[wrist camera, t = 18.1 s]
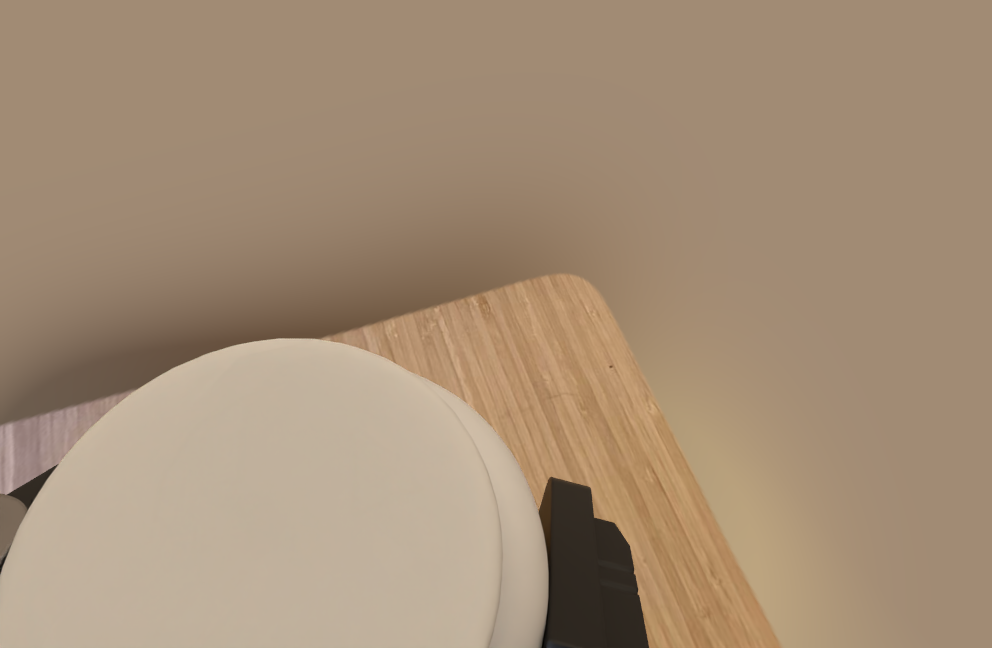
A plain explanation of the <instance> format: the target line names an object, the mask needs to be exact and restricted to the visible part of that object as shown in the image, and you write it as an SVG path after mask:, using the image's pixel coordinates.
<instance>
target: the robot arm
mask: <svg viewBox="0 0 992 648" xmlns="http://www.w3.org/2000/svg"><path fill="white" fill-rule="evenodd" d="M58 465H59V464H58ZM58 465H56V466H54V467H53V468H51V469H49V470H48V471H46V472H44V473H43V474H41V475H39V476H38V477H36V478H34V479H33V480H31V481H29V482H28V483H26V484H24V485H22V486H21V487H19V488H17V489H16V490H14V491H12V492H11V493H9V494H7V495H5V494H0V574H1V571H2V567H3V565H4V562H5V560H6V557H7V555H8V552H9V550H10V547H11V545H12V542H13V540H14V537H15V535H16V532H17V530H18V528H19V526H20V524H21V523H22V521H23V519H24V517H25V515H26V513H27V511H28V509H29V508H30V506H31V504H32V503H33V501H34V500H35V498H36V496H37V495H38V493H39V492H40V490H41V488H42V487H43V485H44V484H45V482H46V481H47V479H48V478H49V476H50V475H51V474H52V472H53V471H54V470H55V468H56V467H57V466H58ZM539 516H540V520H541V524H542V528H543V532H544V538H545V544H546V550H547V559H548V572H549V581H548V609H547V618H546V627H545V632H544V638H543V643H542V648H649V645H648V640H647V634H646V629H645V624H644V618H643V613H642V608H641V602H640V597H639V595H638V587H637V581H636V576H635V574H634V565H633V560H632V555H631V549H630V545H629V544H628V543H627V541H626V540H625V538H624V537H623V535H622V534H621V532H620V531H619V529H618V528H617V526H616V525H615V523H613V522H609V521H605V520H601V519H597V518H594V514H593V504H592V494H591V488H590V487H588V486H584V485H580V484H576V483H572V482H568V481H564V480H561V479H557V478H553V477H550V478H549V480H548V483H547V485H546V489H545V492H544V495H543V499H542V502H541V506H540V509H539Z"/></svg>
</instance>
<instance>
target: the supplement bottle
mask: <svg viewBox="0 0 992 648" xmlns="http://www.w3.org/2000/svg"><path fill="white" fill-rule="evenodd" d="M548 581H549V572H548V559H547V550H546V544H545V538H544V532H543V528H542V524H541V520H540V516H539V513H538V509H537V506H536V503H535V500H534V497H533V495H532V492H531V490H530V487H529V485H528V482H527V480H526V478H525V476H524V474H523V472H522V470H521V468H520V466H519V464H518V462H517V461H516V459H515V457H514V456H513V454H512V452H511V451H510V449H509V448H508V447H507V446H506V444H505V443H504V442H503V440H502V439H501V438H500V436H499V435H498V434H497V433H496V431H495V430H494V429H493V428H492V427H491V426H490V425H489V424H488V423H487V422H486V420H485V419H484V418H483V417H482V416H481V415H480V414H478V413H477V412H476V411H475V410H474V409H473V408H472V407H470V406H469V405H468V404H467V403H466V402H464V401H463V400H462V399H460V398H459V397H458V396H456V395H454V394H453V393H451V392H450V391H448V390H446V389H445V388H443V387H441V386H440V385H438V384H436V383H434V382H432V381H430V380H428V379H426V378H424V377H421V376H419V375H417V374H414V373H412V372H409V371H408V370H406V369H404V368H402V367H401V366H399V365H397V364H395V363H394V362H392V361H390V360H388V359H386V358H384V357H382V356H380V355H377V354H374V353H371V352H369V351H366V350H363V349H360V348H357V347H354V346H350V345H347V344H343V343H338V342H331V341H325V340H318V339H272V340H264V341H256V342H250V343H245V344H240V345H235V346H231V347H228V348H224V349H221V350H218V351H215V352H211V353H208V354H205V355H203V356H201V357H199V358H196V359H194V360H191V361H189V362H187V363H184V364H182V365H179V366H177V367H175V368H173V369H171V370H169V371H167V372H166V373H164V374H162V375H160V376H159V377H157V378H155V379H153V380H152V381H150V382H149V383H147V384H145V385H144V386H142V387H141V388H139V389H137V390H136V391H134V392H133V393H131V394H130V395H129V396H128V397H126V398H125V399H124V400H122V401H121V402H120V403H118V404H117V405H116V406H114V407H113V408H112V409H111V410H110V411H109V412H108V413H106V414H105V415H104V416H103V417H102V418H101V419H100V420H99V421H97V422H96V423H95V424H94V425H93V426H92V427H91V428H90V429H89V430H87V431H86V433H85V434H84V435H83V436H82V437H81V438H80V439H79V440H78V442H77V443H76V444H75V445H74V446H73V447H72V448H71V449H70V451H69V452H68V453H67V454H66V455H65V457H64V458H63V459H62V461H61V462H60V463H59V465H58V466H57V467H56V468H55V470H54V471H53V472H52V474H51V475H50V476H49V478H48V479H47V481H46V482H45V484H44V485H43V487H42V488H41V490H40V492H39V493H38V495H37V496H36V498H35V500H34V501H33V503H32V504H31V506H30V508H29V509H28V511H27V513H26V515H25V517H24V519H23V521H22V523H21V524H20V526H19V528H18V530H17V532H16V535H15V537H14V540H13V542H12V545H11V547H10V550H9V552H8V555H7V557H6V560H5V562H4V565H3V567H2V571H1V574H0V648H542V643H543V638H544V632H545V627H546V618H547V609H548Z"/></svg>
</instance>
